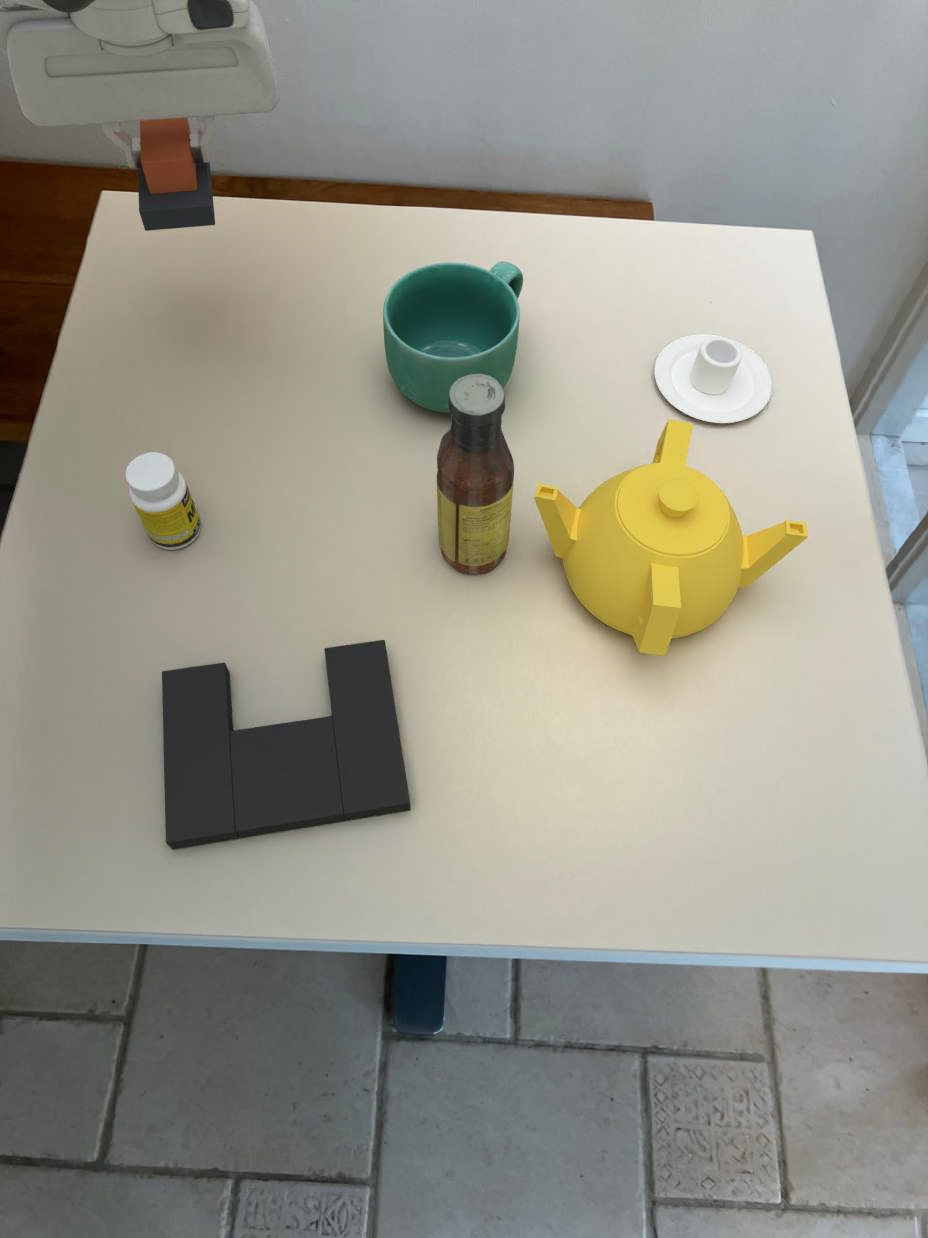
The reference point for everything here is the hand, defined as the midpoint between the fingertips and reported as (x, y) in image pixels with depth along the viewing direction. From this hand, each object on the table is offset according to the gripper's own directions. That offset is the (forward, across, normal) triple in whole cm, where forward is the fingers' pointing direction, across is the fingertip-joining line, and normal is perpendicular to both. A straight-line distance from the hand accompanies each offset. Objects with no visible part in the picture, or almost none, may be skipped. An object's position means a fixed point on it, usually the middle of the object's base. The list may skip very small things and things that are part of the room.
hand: (170, 161), depth 77 cm
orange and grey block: (+3, 0, 0) cm, 3 cm away
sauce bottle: (+17, +21, -32) cm, 42 cm away
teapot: (+17, +36, -38) cm, 55 cm away
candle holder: (+17, +49, -17) cm, 55 cm away
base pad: (+17, +3, -48) cm, 51 cm away
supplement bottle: (+18, -5, -26) cm, 32 cm away
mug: (+17, +24, -11) cm, 32 cm away
